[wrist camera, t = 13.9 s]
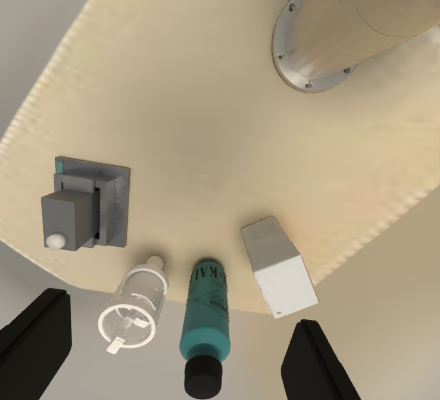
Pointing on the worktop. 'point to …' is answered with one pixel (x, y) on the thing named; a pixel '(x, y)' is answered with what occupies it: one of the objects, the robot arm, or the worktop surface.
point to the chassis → (102, 196)
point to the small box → (278, 268)
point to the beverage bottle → (205, 331)
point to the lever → (71, 214)
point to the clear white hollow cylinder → (136, 304)
